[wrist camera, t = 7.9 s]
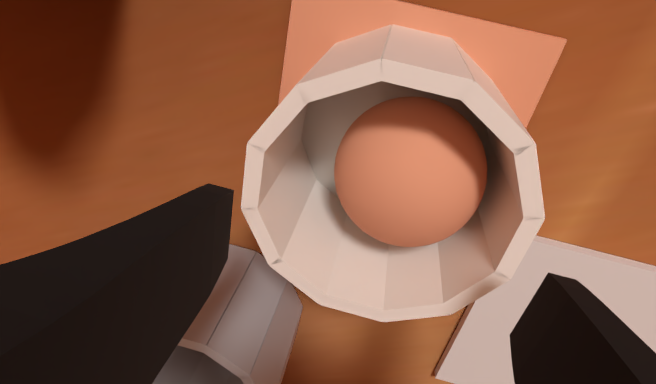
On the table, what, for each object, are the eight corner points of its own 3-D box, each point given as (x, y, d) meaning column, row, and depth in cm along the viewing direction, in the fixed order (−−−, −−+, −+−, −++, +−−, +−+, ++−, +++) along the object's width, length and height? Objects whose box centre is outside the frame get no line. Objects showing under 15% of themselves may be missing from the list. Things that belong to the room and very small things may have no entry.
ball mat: (614, 420, 22) (618, 429, 22) (434, 370, 23) (435, 378, 23) (742, 288, 17) (751, 296, 17) (507, 228, 18) (510, 234, 17)
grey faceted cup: (289, 364, 25) (257, 469, 20) (165, 329, 25) (102, 422, 20) (311, 266, 21) (278, 365, 16) (163, 226, 21) (84, 310, 16)
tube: (465, 251, 19) (487, 368, 13) (267, 199, 19) (211, 291, 14) (564, 38, 14) (660, 86, 9) (297, -23, 15) (229, -14, 9)
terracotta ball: (431, 198, 18) (482, 281, 13) (317, 191, 17) (333, 277, 13) (470, 85, 15) (547, 143, 11) (337, 68, 14) (366, 125, 10)
